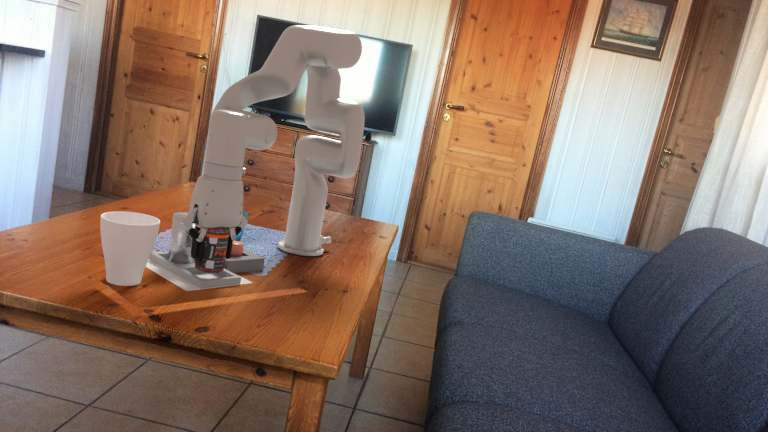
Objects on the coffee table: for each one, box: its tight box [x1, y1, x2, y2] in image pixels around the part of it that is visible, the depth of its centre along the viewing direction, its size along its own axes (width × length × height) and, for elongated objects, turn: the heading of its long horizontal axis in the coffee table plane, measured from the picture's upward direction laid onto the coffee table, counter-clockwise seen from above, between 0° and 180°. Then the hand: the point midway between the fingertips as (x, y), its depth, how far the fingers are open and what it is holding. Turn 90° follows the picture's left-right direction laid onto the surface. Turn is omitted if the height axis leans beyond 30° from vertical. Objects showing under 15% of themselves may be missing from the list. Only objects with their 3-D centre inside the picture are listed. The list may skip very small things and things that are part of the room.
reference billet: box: [168, 211, 199, 264], centre depth 133 cm, size 6×6×11 cm
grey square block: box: [224, 248, 266, 274], centre depth 141 cm, size 10×10×4 cm
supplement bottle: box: [195, 227, 229, 273], centre depth 127 cm, size 6×6×11 cm
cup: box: [99, 210, 161, 290], centre depth 117 cm, size 10×10×14 cm
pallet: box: [145, 251, 254, 292], centre depth 131 cm, size 16×20×3 cm
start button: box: [230, 240, 245, 257], centre depth 140 cm, size 4×4×3 cm
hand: (210, 257), depth 127 cm, fingers closed on supplement bottle, 6 cm apart
